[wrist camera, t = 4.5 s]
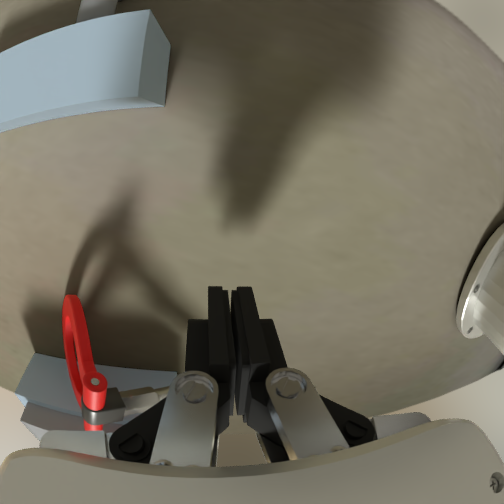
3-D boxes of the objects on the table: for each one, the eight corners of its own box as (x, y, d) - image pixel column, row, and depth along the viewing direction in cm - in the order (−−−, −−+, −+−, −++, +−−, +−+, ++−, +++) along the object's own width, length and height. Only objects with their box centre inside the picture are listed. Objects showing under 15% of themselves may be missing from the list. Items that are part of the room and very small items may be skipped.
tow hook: (60, 269, 12) (85, 386, 8) (204, 274, 20) (267, 349, 15) (57, 346, 15) (87, 443, 10) (177, 337, 22) (223, 407, 18)
